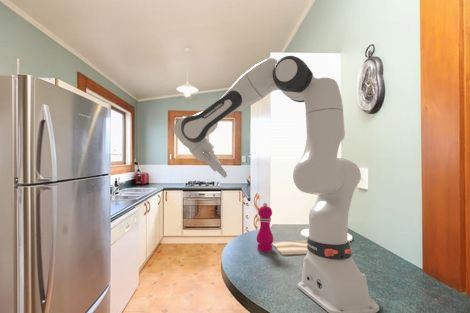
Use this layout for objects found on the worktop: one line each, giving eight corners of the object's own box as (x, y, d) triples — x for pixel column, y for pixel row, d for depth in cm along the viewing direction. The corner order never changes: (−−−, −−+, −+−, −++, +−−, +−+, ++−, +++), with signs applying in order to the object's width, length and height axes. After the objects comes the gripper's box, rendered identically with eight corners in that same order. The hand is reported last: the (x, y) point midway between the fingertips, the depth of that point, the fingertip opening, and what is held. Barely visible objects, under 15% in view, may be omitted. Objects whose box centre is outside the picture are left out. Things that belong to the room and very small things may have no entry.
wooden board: (328, 253, 105) (328, 252, 105) (282, 255, 102) (282, 254, 102) (311, 241, 121) (311, 240, 121) (270, 243, 118) (270, 241, 118)
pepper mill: (271, 253, 104) (272, 204, 105) (254, 251, 107) (255, 203, 107) (274, 247, 111) (275, 202, 112) (258, 245, 114) (259, 200, 114)
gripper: (208, 145, 97) (232, 172, 98) (209, 146, 117) (229, 168, 118) (196, 156, 97) (220, 183, 98) (199, 155, 117) (219, 177, 118)
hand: (225, 175), depth 108 cm, fingers open, 8 cm apart
